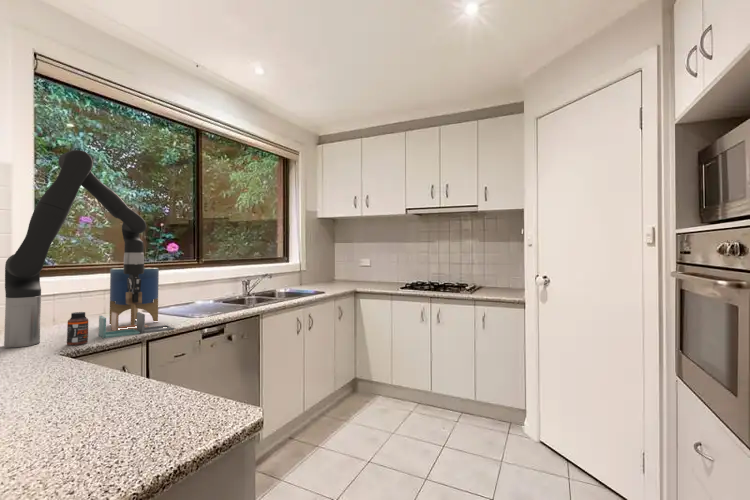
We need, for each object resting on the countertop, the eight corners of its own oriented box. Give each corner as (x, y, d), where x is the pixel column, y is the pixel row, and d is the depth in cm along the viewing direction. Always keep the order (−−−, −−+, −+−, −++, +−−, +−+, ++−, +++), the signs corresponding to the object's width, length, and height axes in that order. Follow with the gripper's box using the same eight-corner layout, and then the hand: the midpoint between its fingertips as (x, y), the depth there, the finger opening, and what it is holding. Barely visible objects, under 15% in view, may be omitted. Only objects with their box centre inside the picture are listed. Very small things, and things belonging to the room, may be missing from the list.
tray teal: (103, 339, 140) (103, 318, 140) (98, 335, 146) (99, 315, 147) (139, 334, 149) (139, 314, 149) (133, 331, 155) (134, 312, 155)
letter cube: (128, 304, 157) (128, 292, 157) (125, 303, 160) (125, 291, 160) (141, 303, 160) (141, 291, 160) (138, 302, 164) (138, 290, 164)
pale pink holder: (115, 333, 152) (116, 313, 152) (111, 330, 158) (111, 311, 158) (148, 329, 160) (149, 310, 161) (143, 326, 167) (143, 308, 167)
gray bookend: (142, 334, 149) (142, 314, 150) (136, 331, 156) (136, 312, 156) (174, 330, 158) (174, 311, 158) (167, 327, 164) (167, 309, 165)
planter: (106, 329, 161) (107, 269, 161) (112, 322, 177) (113, 268, 178) (157, 325, 170) (158, 268, 170) (158, 319, 187) (159, 267, 187)
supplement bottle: (78, 345, 130) (79, 313, 130) (62, 345, 130) (62, 313, 130) (92, 342, 136) (92, 311, 136) (76, 342, 136) (77, 311, 136)
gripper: (120, 263, 163) (119, 301, 162) (127, 263, 153) (127, 304, 152) (139, 262, 168) (139, 299, 168) (148, 263, 158) (148, 302, 158)
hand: (133, 301), depth 160 cm, fingers closed on letter cube, 5 cm apart
